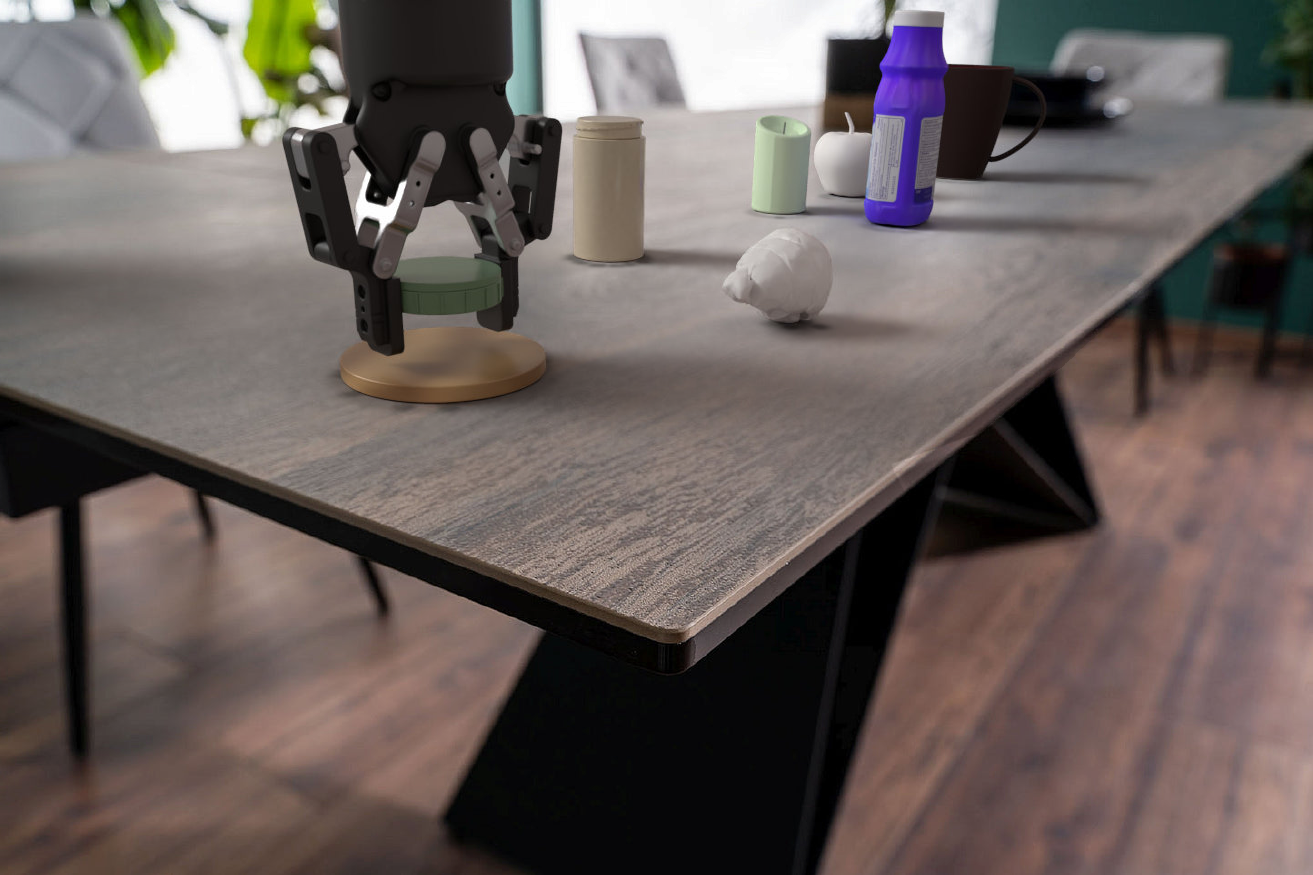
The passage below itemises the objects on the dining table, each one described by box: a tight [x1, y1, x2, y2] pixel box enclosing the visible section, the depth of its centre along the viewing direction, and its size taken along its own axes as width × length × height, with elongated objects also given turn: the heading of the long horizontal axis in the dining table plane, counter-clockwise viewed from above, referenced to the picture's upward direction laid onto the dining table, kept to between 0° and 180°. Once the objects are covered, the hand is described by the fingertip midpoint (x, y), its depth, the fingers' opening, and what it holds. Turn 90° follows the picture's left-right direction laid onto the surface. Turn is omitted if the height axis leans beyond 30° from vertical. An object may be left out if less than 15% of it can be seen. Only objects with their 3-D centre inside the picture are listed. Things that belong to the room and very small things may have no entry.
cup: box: [936, 63, 1047, 181], centre depth 121 cm, size 10×14×12 cm
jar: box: [572, 115, 647, 263], centre depth 78 cm, size 5×5×10 cm
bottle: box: [863, 9, 949, 227], centre depth 92 cm, size 7×6×17 cm
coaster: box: [339, 326, 547, 404], centre depth 54 cm, size 10×10×1 cm
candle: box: [750, 114, 812, 215], centre depth 98 cm, size 5×5×8 cm
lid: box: [393, 255, 504, 316], centre depth 52 cm, size 6×6×2 cm
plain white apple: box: [813, 111, 872, 198], centre depth 108 cm, size 7×7×8 cm
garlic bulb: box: [722, 227, 834, 324], centre depth 62 cm, size 6×6×5 cm
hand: (443, 338), depth 53 cm, fingers closed on lid, 6 cm apart
